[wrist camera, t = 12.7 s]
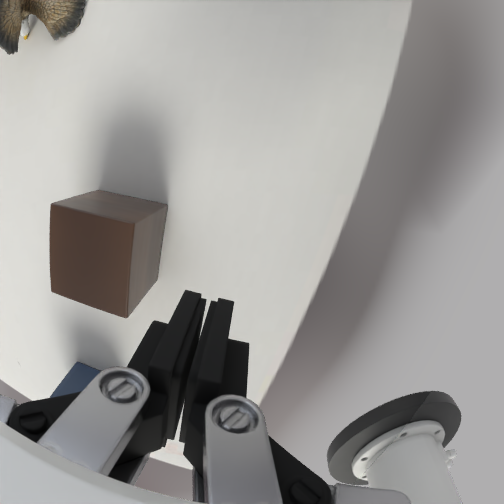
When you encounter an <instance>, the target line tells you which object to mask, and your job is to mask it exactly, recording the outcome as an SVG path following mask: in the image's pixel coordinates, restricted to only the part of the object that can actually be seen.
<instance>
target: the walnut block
mask: <svg viewBox="0 0 504 504" xmlns="http://www.w3.org/2000/svg"><path fill="white" fill-rule="evenodd" d="M167 208H168V205H167V204H162V203H158V202H153V201H148V200H144V199H139V198H134V197H130V196H125V195H120V194H115V193H110V192H105V191H100V190H96V191H93V192H89V193H85V194H82V195H78V196H75V197H71V198H68V199H64V200H61V201H58V202H54V203H52V204H51V209H50V278H51V291H52V292H54V293H56V294H59V295H61V296H64V297H67V298H69V299H72V300H74V301H77V302H80V303H83V304H85V305H88V306H91V307H94V308H97V309H100V310H103V311H105V312H108V313H111V314H114V315H117V316H121V317H124V318H128V317H129V315H130V314H131V313H132V311H133V310H134V309H135V308H136V306H137V305H138V304H139V302H140V301H141V300H142V299H143V297H144V296H145V295H146V294H147V292H148V291H149V290H150V288H151V287H152V286H153V285H154V283H155V282H156V281H157V278H158V269H159V262H160V254H161V247H162V240H163V233H164V227H165V220H166V214H167Z"/></svg>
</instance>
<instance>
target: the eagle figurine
mask: <svg viewBox="0 0 504 504" xmlns="http://www.w3.org/2000/svg"><path fill="white" fill-rule="evenodd" d="M84 1H85V0H0V47H1V48H2V49H4V50H5V51H6V52H7V54H9V55H10V54H14V53H15V52H18V41H19V35H20V34H21V36H23V37H24V39H25V40H26V39H27V36H28V33H29V31H30V27H29V22H28V17H29V14H33V15H36V16H37V17H38V18H39V19H40V20H41V21H42V22H43V23H44V24H45V26H46V27H47V29H48V31H49V32H50V34H51V36H52V37H53V38H54V40H57V39H59V37H65V36H66V35H67V33H72V32H74V30H75V28H76V27H78V26H79V24H80V21H79V20H80V18H82V16H83V12H82V10H81V9H82V8H84V7H85V5H84V3H83V2H84Z"/></svg>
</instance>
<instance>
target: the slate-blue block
mask: <svg viewBox="0 0 504 504" xmlns="http://www.w3.org/2000/svg"><path fill="white" fill-rule="evenodd" d="M100 372H101V371H99V370H97V369H94V368H92V367H89V366H87V365H84V364H82V363H80V362H76V363H75V365H74V366H73V367H72V369H71V370H70V371H69V372H68V374H67V375H66V376H65V378H64V379H63V380H62V382H61V383H60V384H59V386H58V387H57V388H56V390H55V391H54V392H53V394H52V395H51V396H50V398H52V397H57V396H62V395H67V394H71V393H76V392H80V391H83V390H84V389H85V388H86V387H87V386H88V384H89V383H90V382H91V381H92V380H93V379H94V378H95V377H96V376H97V375H98V374H99V373H100Z"/></svg>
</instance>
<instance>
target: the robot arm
mask: <svg viewBox="0 0 504 504" xmlns="http://www.w3.org/2000/svg"><path fill="white" fill-rule="evenodd" d="M205 305H206V299H203V298H201V294H200V293H196V292H192V291H188V290H185V292H184V294H183V296H182V298H181V300H180V302H179V304H178V306H177V308H176V310H175V312H174V314H173V316H172V318H171V320H170V322H169V324H166V323H163V322H159V321H155V320H154V321H153V322H152V324H151V325H150V327H149V329H148V330H147V332H146V334H145V336H144V337H143V339H142V341H141V343H140V344H139V346H138V348H137V350H136V352H135V353H134V355H133V357H132V359H131V361H130V362H129V364H128V366H127V367H120V366H117V367H110V368H107V369H105V370H103V371H101V372H100V373H99V374H98V375H97V376H96V377H95V378H94V379H93V380H92V381H91V382H90V383H89V384H88V386H87V387H86V388H85V389H84V390H83V391H80V392H76V393H71V394H67V395H62V396H57V397H52V398H47V399H42V400H36V401H30V402H26V403H23V404H21V405H20V404H17V402H16V400H15V399H12V398H9V397H6V396H3V395H1V394H0V504H463V503H462V501H461V498H460V496H459V493H458V491H457V488H456V486H455V484H454V481H453V479H452V476H451V474H450V472H449V469H450V468H451V466H452V463H453V462H452V459H453V458H455V456H456V451H455V450H448V451H445V450H444V448H443V446H442V442H443V440H444V437H445V431H444V429H443V427H442V425H441V424H440V423H439V422H436V421H432V420H422V421H417V422H412V423H409V424H405V425H403V426H400V427H398V428H395V429H393V430H391V431H389V432H387V433H385V434H383V435H381V436H379V437H378V438H376V439H374V440H373V441H371V442H370V443H368V444H367V445H366V446H365V447H364V448H362V449H361V450H360V451H359V453H358V454H357V455H356V456H355V458H354V459H353V462H352V470H353V474H354V475H355V476H356V477H357V478H359V479H362V480H367V481H368V483H369V488H368V487H360V486H353V485H346V484H339V483H337V484H336V485H334V486H333V485H328V484H327V483H326V482H325V481H324V480H323V479H322V478H320V477H319V476H318V475H316V474H315V473H314V472H312V471H311V470H310V469H309V468H307V467H306V466H305V465H303V464H302V463H301V462H300V461H298V460H297V459H296V458H295V457H293V456H292V455H291V454H290V453H288V452H287V451H286V450H285V449H284V448H283V447H281V446H280V445H279V444H278V443H277V442H275V441H274V440H273V439H272V438H271V437H270V436H269V435H268V432H267V427H266V422H265V417H264V415H263V412H262V410H261V409H260V408H259V407H258V405H257V404H255V403H254V402H252V401H251V400H249V399H247V398H246V394H247V376H248V359H249V343H246V342H241V341H237V340H232V339H228V336H229V330H230V324H231V318H232V312H233V306H234V301H230V300H226V299H221V298H218V301H217V302H216V301H211V303H210V306H209V310H208V313H207V316H206V319H205V323H204V326H203V329H202V332H201V327H202V321H203V316H204V311H205ZM200 332H201V336H200ZM199 337H200V339H199ZM184 401H185V402H184ZM183 404H184V409H183V416H182V423H181V431H180V438H179V442H183V443H185V446H184V452H183V455H184V456H185V457H186V458H187V459H188V461H189V462H190V463H191V464H192V465H193V501H189V500H185V499H180V498H176V497H172V496H168V495H164V494H160V493H156V492H152V491H149V490H146V489H142V488H139V487H136V486H134V485H135V483H136V481H137V479H138V477H139V475H140V473H141V471H142V470H143V468H144V466H145V464H146V462H147V461H148V459H149V455H150V453H151V452H154V451H156V450H159V449H161V447H165V445H166V442H167V439H171V440H174V437H175V434H176V430H177V426H178V423H179V419H180V415H181V412H182V408H183Z"/></svg>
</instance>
